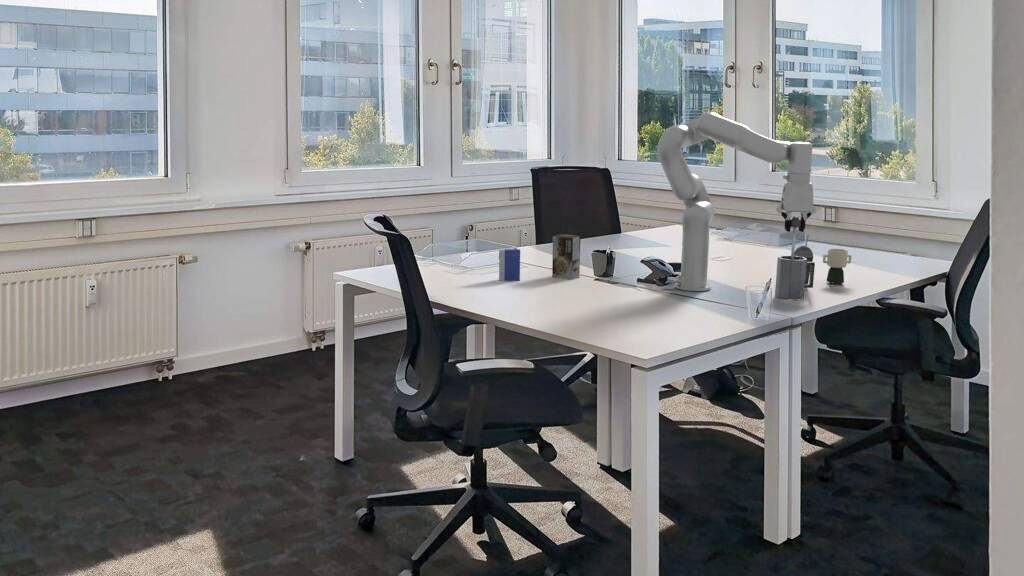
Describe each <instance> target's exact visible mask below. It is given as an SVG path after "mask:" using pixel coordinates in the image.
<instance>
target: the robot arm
mask: <svg viewBox="0 0 1024 576" xmlns="http://www.w3.org/2000/svg"><path fill="white" fill-rule="evenodd" d="M709 139H710V140H712V141H714V142H717V143H721V144H722V145H725V146H727V147H730V148H733V149H735V150H737V151H739V152H742V153H745V154H747V155H749V156H752V157H754V158H756V159H760V160H762V161H764V162H767V163H769V164H772V165H773V164H780V163H784V162H785V163H787V162H788V163H787V173H786V174H783V176H782V177H783V178H782V179H784V180H786V181H785V182H784V186H783V188H782V192H781V193H782V194H781V199H780V203H779V205H778V206H777V207H776V209H775V212H777V213H778V214H779V215H781V217H782V218H783V219H784V229H785V231H786V232H788V233H789V232H791V228H792V227H791V220H790V219H791V216H792V213H793V212H794V213H800V220H801V227H798V231H799V232H800V233H804V230H806V222H807V220H808V219H809V218H810V217H811V216H812V215H814V214H815V213H817V209H816V207H815V205H814V186H813V182H811V173H812V172H811V171H812V169H811V167H812V159H813V144H812V143H810V142H807V141H805V142H803V141H794V142H790V141H784V140H774V139H772V138H768V137H767V136H764V135H761V134H759V133H757V132H755V131H754V130H751V129H750V128H749V127H748V126H747V125H744V124H742V123H738V122H736V121H733V120H730V119H728V118H726V117H723V116H721V115H720V114H718V113H716V112H712V111H711V112H704V113H702V114H701V115H699V117H697V118H695V119H691V120H690V121H687V122H684V123H682V124H674V125H671V126H670V127H668V128H666V129H665V131H664V132H663V133H662V135H661V136H660V137H659V140H658V143H657V155H658V160H659V162H660V164H661V167H662V169H663V172H664V174H665V176H666V179H667V181H668V184H669V185H670V187H671V190H672V193H673V195H674V197H675V198H676V199H678V200H680V201H681V202H683V204H684V206H685V208H684V211H683V213H682V217H681V218H682V221H681V222H682V238H681V239H682V240H681V241H682V242H681V266H680V274H678V276H676V277H673V276H667V283H672V284H675V288H676V289H678V290H681V291H686V292H687V291H688V292H707V291H711V289H712V285H710V284H709V283H708V267H709V252H710V250H709V248H710V223H712V221H713V220H714V218H715V214H716V210H715V206H714V205H713V202H712V200H711V197H710V194H709V193H708V191H707V189H706V186H705V183H704V182H703V181H702V179H701V178H700V177H699V175H696V174H694V173H692V171H691V169H690V166H689V165H688V162H687V161H686V158H685V157H684V155H683V153H682V150H683V149H685V148H688V147H691V146H694V145H695V144H698V143H700V142H703V141H706V140H709Z"/></svg>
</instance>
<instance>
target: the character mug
mask: <svg viewBox="0 0 1024 576" xmlns="http://www.w3.org/2000/svg"><path fill="white" fill-rule="evenodd" d="M822 263H823V264H826V265H827V266H828V267H829V269H828V273H827V276H826V282H827V283H830V284H831V285H832V284H835V285H836V284H837V285H838V284H844V283H845V273H844V272H845V271H844V269H843V268H846V267H847V264H851V263H852V254H849V253H848V250H847V249H843V248H829V249H828V250H827V254H824V255H823V256H822Z"/></svg>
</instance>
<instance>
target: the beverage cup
mask: <svg viewBox="0 0 1024 576" xmlns="http://www.w3.org/2000/svg"><path fill="white" fill-rule="evenodd" d="M809 236H810V235H809V234H807V235H806V240H805V241H806V242H805V245H800V246H798V247H797V248H795V250H794V256H799V257H804V258H806V259H807V262H814V253H813V250H812V249H811V248H810V247H809V246H808V240H809ZM810 267H811V265H807V268H806V281H805V284H809V279H810Z"/></svg>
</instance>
